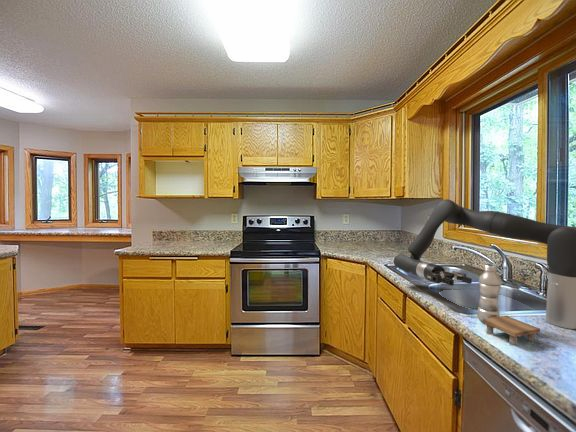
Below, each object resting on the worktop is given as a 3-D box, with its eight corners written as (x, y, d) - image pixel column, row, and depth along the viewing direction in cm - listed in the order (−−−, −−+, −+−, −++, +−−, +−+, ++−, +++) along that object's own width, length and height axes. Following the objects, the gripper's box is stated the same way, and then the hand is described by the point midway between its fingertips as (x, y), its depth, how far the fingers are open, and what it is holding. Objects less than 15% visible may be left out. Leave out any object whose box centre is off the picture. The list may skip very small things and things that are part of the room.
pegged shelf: (505, 328, 96) (506, 315, 96) (539, 342, 86) (540, 328, 86) (482, 331, 93) (482, 319, 93) (514, 347, 84) (515, 332, 83)
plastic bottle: (493, 319, 103) (495, 263, 102) (503, 327, 96) (506, 267, 95) (473, 317, 104) (475, 262, 103) (482, 325, 98) (485, 267, 96)
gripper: (416, 264, 123) (447, 273, 108) (443, 262, 127) (477, 271, 112) (416, 281, 124) (446, 293, 108) (443, 279, 128) (476, 290, 112)
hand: (462, 282), depth 110 cm, fingers open, 8 cm apart
